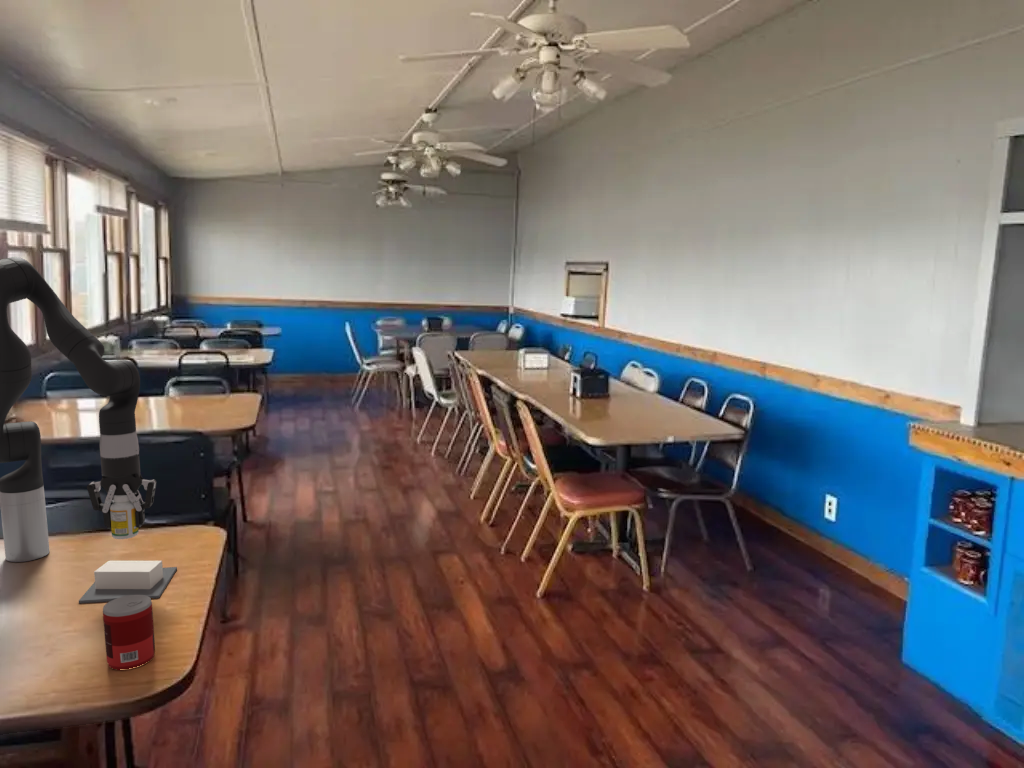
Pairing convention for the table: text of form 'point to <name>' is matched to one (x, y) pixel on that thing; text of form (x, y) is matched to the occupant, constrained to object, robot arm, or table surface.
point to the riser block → (128, 575)
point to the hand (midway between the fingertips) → (125, 526)
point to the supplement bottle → (123, 518)
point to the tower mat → (128, 590)
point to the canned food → (129, 631)
